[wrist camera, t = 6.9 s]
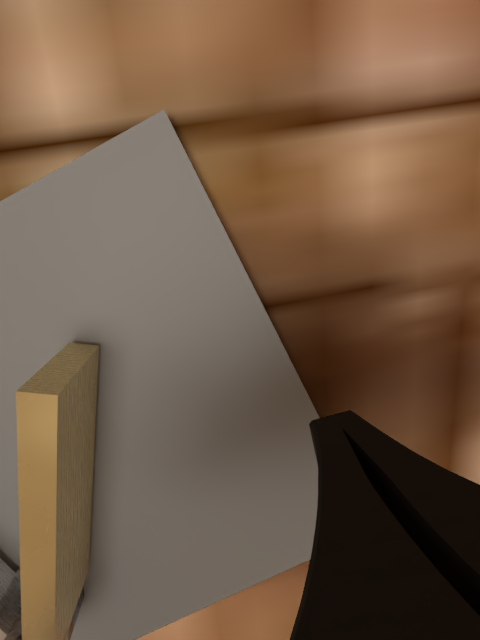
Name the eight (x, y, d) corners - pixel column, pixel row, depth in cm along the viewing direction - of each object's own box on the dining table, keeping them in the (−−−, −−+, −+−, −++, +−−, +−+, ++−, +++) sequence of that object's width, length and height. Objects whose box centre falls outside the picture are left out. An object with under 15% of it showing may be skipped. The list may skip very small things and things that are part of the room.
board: (368, 515, 17) (375, 529, 16) (32, 669, 18) (25, 689, 17) (167, 116, 11) (164, 109, 11) (-300, 377, 13) (-333, 387, 12)
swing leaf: (99, 345, 12) (45, 410, 8) (85, 620, 16) (44, 756, 12) (20, 337, 12) (-76, 399, 8) (25, 618, 16) (-38, 758, 12)
